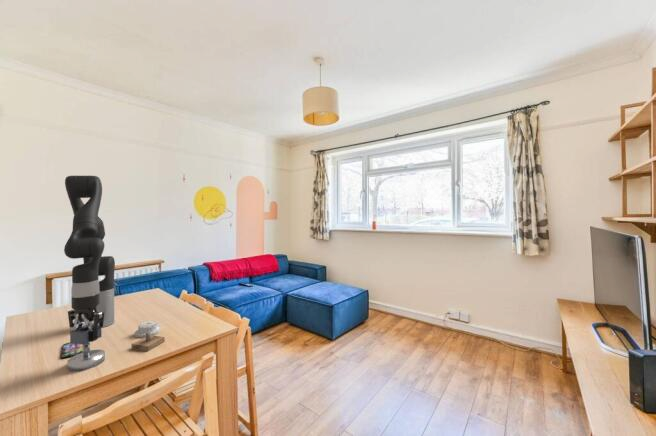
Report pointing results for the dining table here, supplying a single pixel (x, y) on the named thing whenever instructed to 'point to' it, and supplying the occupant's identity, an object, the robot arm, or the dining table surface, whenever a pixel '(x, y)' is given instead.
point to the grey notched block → (82, 335)
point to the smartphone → (71, 350)
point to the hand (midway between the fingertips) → (86, 339)
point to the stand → (148, 342)
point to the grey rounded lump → (147, 328)
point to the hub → (86, 359)
